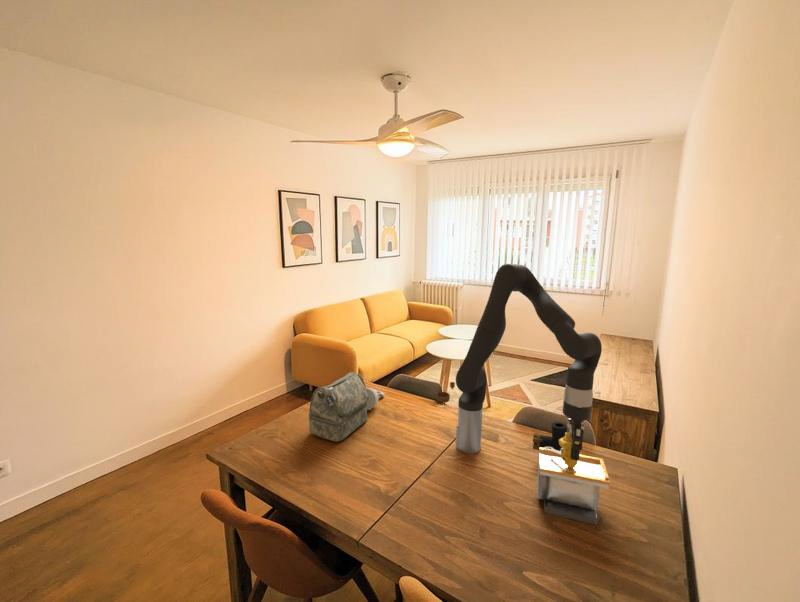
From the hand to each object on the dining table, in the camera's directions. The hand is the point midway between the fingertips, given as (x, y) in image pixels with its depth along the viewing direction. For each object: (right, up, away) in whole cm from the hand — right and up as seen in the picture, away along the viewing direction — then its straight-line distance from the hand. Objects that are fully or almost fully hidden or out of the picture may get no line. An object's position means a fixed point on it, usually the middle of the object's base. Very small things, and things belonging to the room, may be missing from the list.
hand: (572, 451), depth 110 cm
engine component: (-66, -7, +72) cm, 98 cm away
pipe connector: (+4, -15, +25) cm, 29 cm away
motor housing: (0, -18, +3) cm, 18 cm away
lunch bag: (-78, -10, +49) cm, 93 cm away
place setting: (-27, -7, +77) cm, 82 cm away
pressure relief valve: (-2, -5, +3) cm, 6 cm away
